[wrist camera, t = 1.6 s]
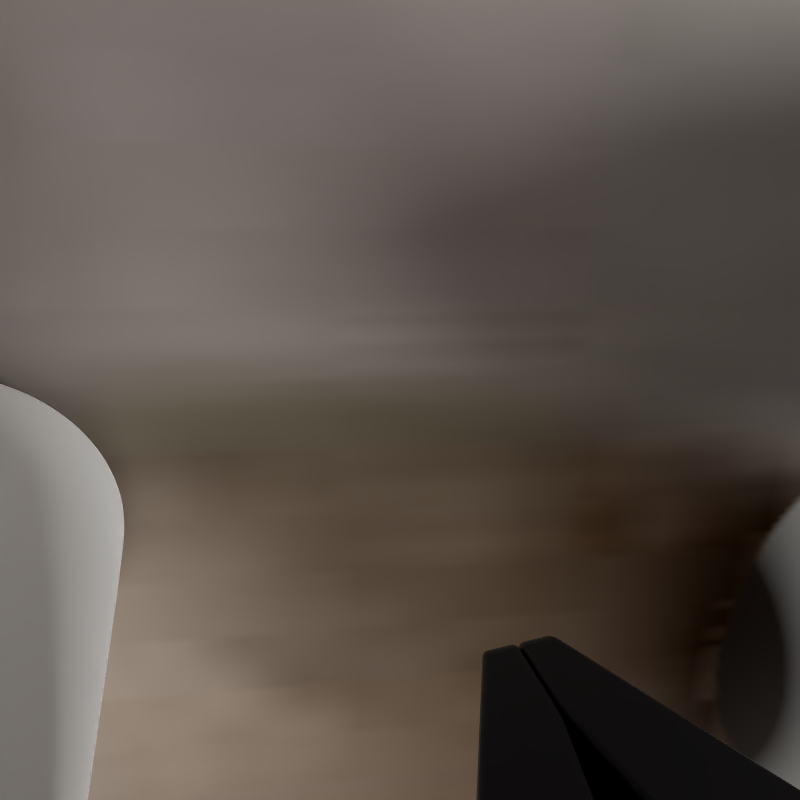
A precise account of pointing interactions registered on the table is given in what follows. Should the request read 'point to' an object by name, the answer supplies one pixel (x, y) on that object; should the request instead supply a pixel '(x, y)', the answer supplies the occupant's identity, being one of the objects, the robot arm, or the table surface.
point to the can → (53, 598)
